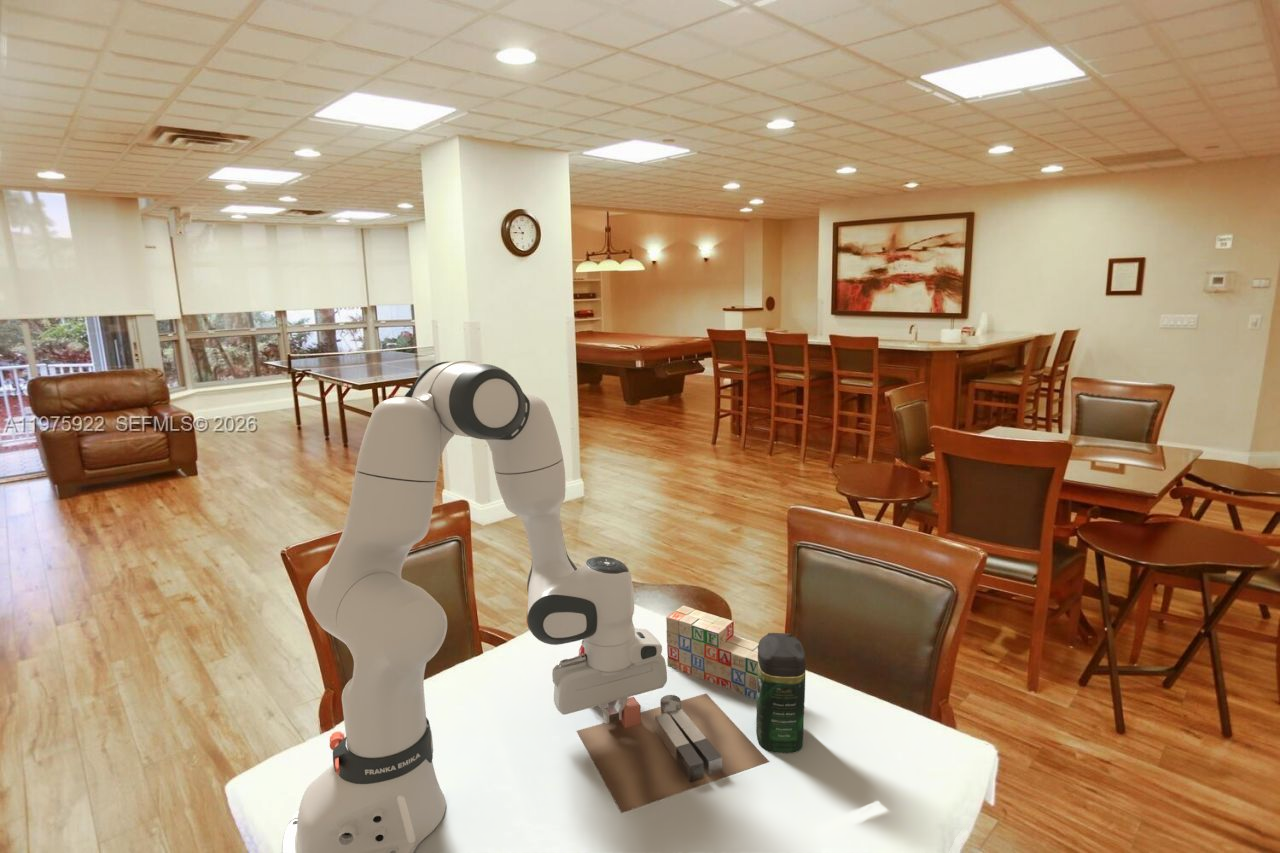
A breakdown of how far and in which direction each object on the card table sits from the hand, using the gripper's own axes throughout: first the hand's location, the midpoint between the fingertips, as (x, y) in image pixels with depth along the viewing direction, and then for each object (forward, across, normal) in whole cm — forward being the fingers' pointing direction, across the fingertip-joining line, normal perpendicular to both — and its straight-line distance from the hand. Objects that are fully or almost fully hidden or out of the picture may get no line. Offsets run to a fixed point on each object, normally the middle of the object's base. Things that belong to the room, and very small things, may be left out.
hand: (612, 720), depth 121 cm
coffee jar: (+3, +25, -14) cm, 29 cm away
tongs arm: (+1, +9, -9) cm, 13 cm away
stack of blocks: (+3, +25, +6) cm, 26 cm away
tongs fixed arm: (+1, +10, -11) cm, 15 cm away
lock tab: (+1, +3, 0) cm, 4 cm away
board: (+2, +7, -9) cm, 12 cm away
